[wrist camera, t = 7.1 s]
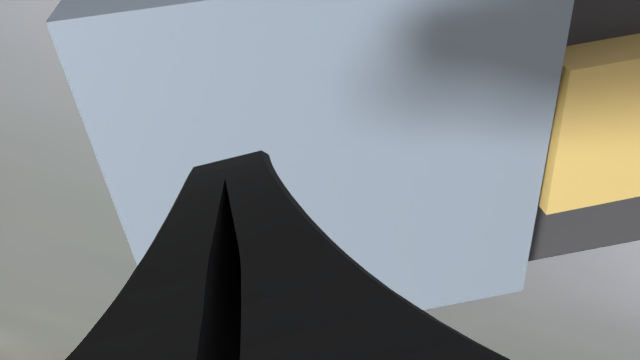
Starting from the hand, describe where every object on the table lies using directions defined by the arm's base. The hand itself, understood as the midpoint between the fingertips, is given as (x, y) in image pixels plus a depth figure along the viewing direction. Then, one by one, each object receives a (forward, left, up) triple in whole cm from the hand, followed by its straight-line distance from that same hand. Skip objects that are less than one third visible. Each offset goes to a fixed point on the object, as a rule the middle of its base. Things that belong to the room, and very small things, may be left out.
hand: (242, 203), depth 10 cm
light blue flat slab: (-3, +5, -9) cm, 11 cm away
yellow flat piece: (-15, +5, -9) cm, 18 cm away
